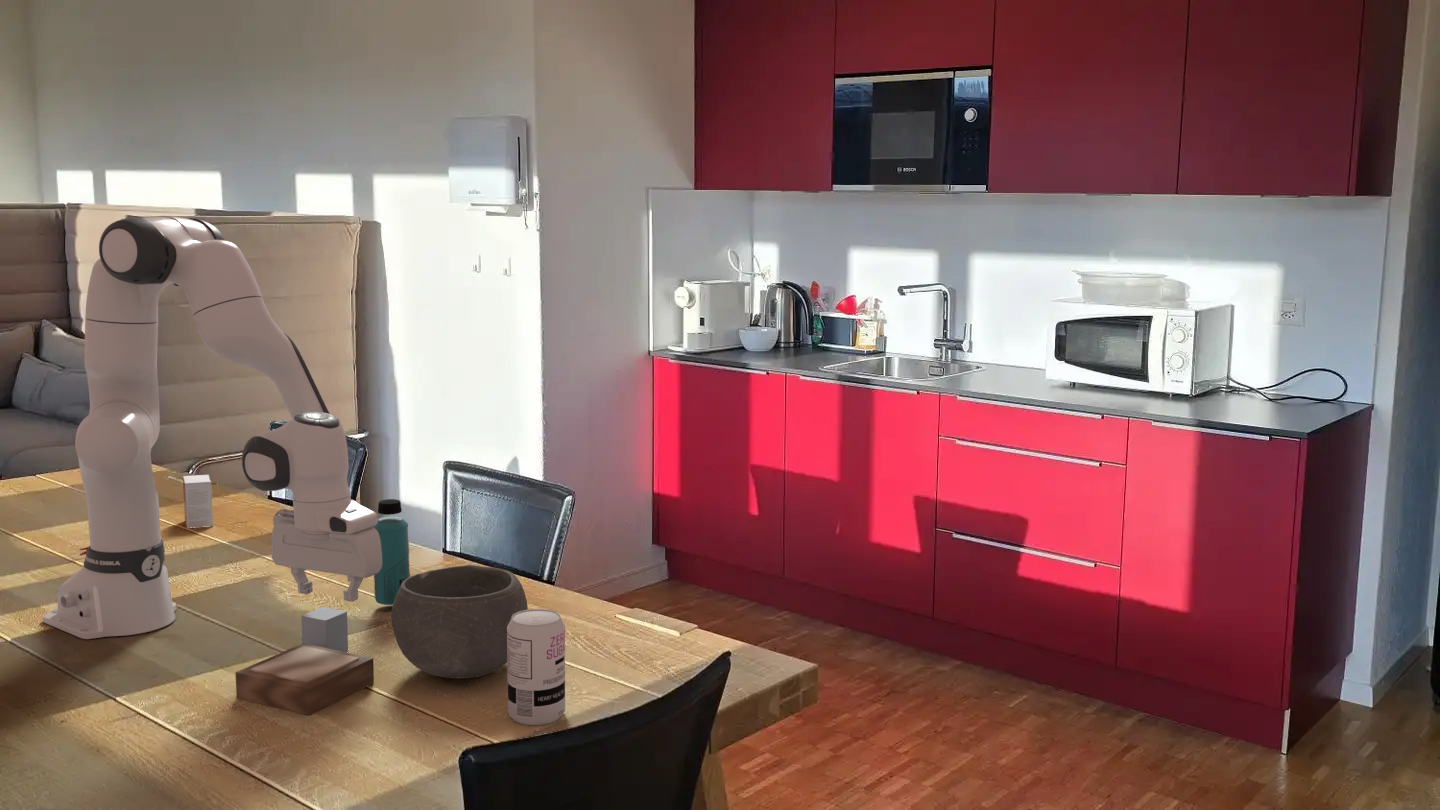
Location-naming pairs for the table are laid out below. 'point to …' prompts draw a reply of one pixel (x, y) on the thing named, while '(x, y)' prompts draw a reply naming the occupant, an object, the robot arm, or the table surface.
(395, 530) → the beverage bottle
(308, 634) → the block
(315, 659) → the base
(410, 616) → the bowl
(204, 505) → the small box
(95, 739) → the table surface
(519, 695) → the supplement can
